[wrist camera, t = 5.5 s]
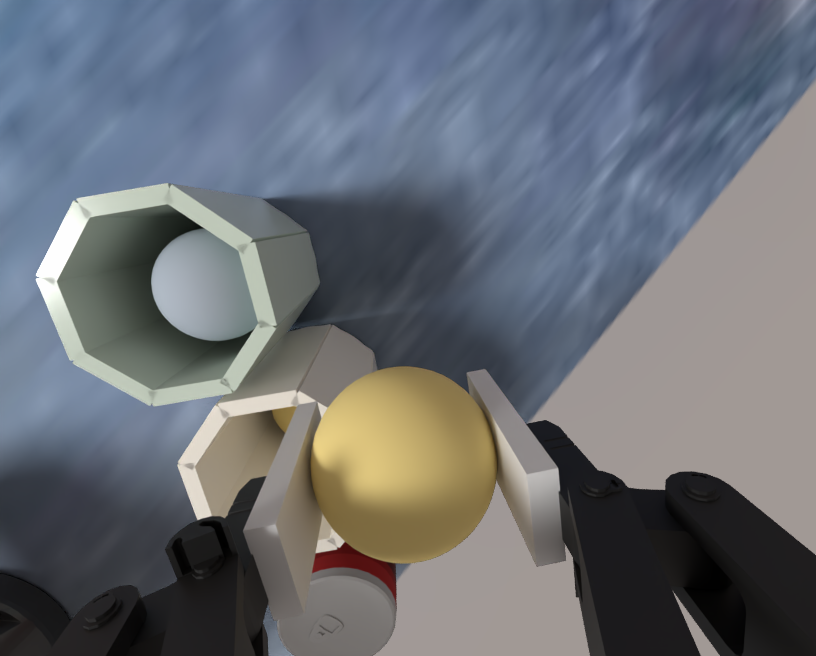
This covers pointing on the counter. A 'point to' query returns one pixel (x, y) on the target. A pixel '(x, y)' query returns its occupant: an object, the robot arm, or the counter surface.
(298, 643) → the canned food
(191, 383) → the crock sage
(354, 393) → the ball loose
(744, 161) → the counter surface
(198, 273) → the blue-grey ball
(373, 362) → the crock cream
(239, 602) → the robot arm
